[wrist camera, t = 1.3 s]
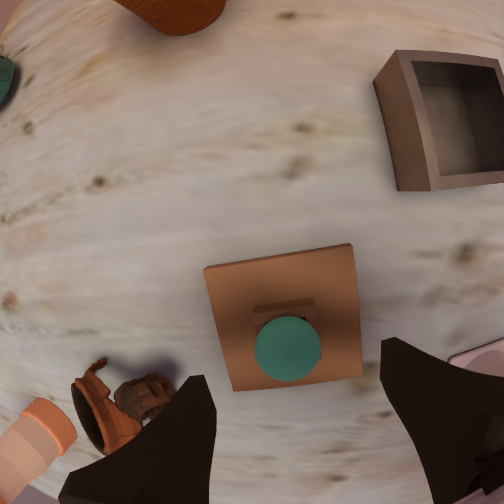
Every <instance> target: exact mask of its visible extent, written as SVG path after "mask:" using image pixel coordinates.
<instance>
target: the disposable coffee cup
mask: <svg viewBox="0 0 504 504" xmlns="http://www.w3.org/2000/svg"><path fill="white" fill-rule="evenodd" d="M114 1H115V0H114ZM116 2H117V3H119V4H121V5H122V6H124V7H126V8H127V9H128V10H131V12H133V13H135V14H136V15H137V16H139V17H140V18H142V19H144V20H145V21H146V22H148V23H149V24H151V25H152V26H153V27H155V28H156V29H158V30H159V31H160V32H162V33H165V34H167V35H186V34H190V33H193V32H196V31H199V30H201V29H203V28H205V27H206V26H208V25H209V24H211V23H212V22H213V21H214V20H216V19H217V18H218V17H219V15H220V14H221V13H222V11H223V9H224V7H225V4H226V0H116Z"/></svg>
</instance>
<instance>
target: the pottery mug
mask: <svg viewBox="0 0 504 504" xmlns="http://www.w3.org/2000/svg"><path fill="white" fill-rule="evenodd" d="M105 364H106V359H102V360H98V361H97V362H96V363H93V364H92V365H91V367H90V368H88V370H87V371H86V372H85V374H84V376H83V377H82V378H76V379H75V383H72V384H71V392H72V397H73V402H74V406H75V409H76V412H77V415H78V417H79V420H80V422H81V424H82V426H83V428H84V430H85V432H86V434H87V436H88V437H89V439H90V440H91V442H92V443H93V445H94V446H95V447H96V448H97V450H98V451H99V452H101V453H102V454H103V455H105V456H108V455H109V454H111V453H113V452H114V451H116V450H117V449H119V448H120V447H122V446H123V445H124V444H126V443H127V442H129V441H130V440H131V439H133V438H134V437H135V436H136V435H138V434H139V433H140V432H141V431H142V430H143V429H144V428H145V427H147V426H148V425H149V424H150V423H151V422H152V421H153V420H154V418H155V417H156V416H157V415H158V414H159V413H160V412H161V411H162V410H163V409H164V408H165V406H166V405H167V404H168V403H169V401H170V400H171V399H172V398H173V397H172V396H173V394H174V390H173V385H172V383H171V382H170V381H169V380H168V379H167V378H165V377H162V376H160V375H158V374H156V373H152V374H148V375H146V376H145V377H142V378H141V379H138V380H137V379H134V380H131V381H129V382H124V383H123V384H122V385H121V386H120V387H119V388H118V389H117V390H116V391H115V393H114V400H115V403H114V402H113V401H112V400H110V399H109V398H108V396H109V394H110V393H111V391H110V389H109V388H108V387H107V386H106V385H104V383H103V382H102V381H101V380H100V379H99V378H98V377H96V376H95V374H94V373H95V372H96V371H97V370H99V369H101V368H103V367H104V366H105ZM171 397H172V398H171ZM147 416H148V417H149V418H151V419H152V420H151V421H150V422H149V423H148V424H146V426H144V427H143V423H142V422H141V421H143V420H145V419H146V418H147Z"/></svg>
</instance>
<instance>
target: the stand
mask: <svg viewBox="0 0 504 504" xmlns="http://www.w3.org/2000/svg"><path fill="white" fill-rule="evenodd" d="M203 271H204V276H205V280H206V285H207V289H208V293H209V298H210V302H211V306H212V310H213V314H214V318H215V323H216V327H217V331H218V335H219V339H220V342H221V346H222V350H223V354H224V358H225V362H226V365H227V369H228V373H229V377H230V380H231V384H232V388H233V391H249V390H262V389H273V388H282V387H291V386H299V385H307V384H314V383H321V382H328V381H334V380H340V379H346V378H351V377H356V376H362V350H361V331H360V316H359V304H358V292H357V282H356V273H355V264H354V255H353V247H352V245H351V244H350V243H348V244H342V245H336V246H330V247H324V248H318V249H312V250H306V251H300V252H293V253H287V254H281V255H275V256H269V257H263V258H257V259H250V260H244V261H238V262H232V263H226V264H219V265H213V266H207V267H206V268H205V269H204V270H203ZM283 316H293V317H297V318H300V319H303V320H304V321H306V322H308V323H309V324H310V325H311V326H312V327H313V328H314V329H315V331H316V332H317V334H318V336H319V339H320V343H321V353H320V357H319V360H318V363H317V364H316V366H315V368H314V369H313V370H312V371H311V372H310V373H309V374H308V375H306V376H305V377H303V378H301V379H298V380H295V381H279V380H276V379H273V378H271V377H269V376H268V375H267V374H265V373H264V372H263V371H262V369H261V368H260V367H259V365H258V363H257V361H256V358H255V353H254V346H255V341H256V338H257V335H258V333H259V332H260V330H261V329H262V328H263V327H264V326H265V325H266V324H267V323H268V322H270V321H272V320H274V319H276V318H279V317H283Z"/></svg>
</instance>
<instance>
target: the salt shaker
mask: <svg viewBox="0 0 504 504" xmlns="http://www.w3.org/2000/svg"><path fill="white" fill-rule="evenodd" d="M75 439H76V431H75V429H74V427H73V425H72V423H71V422H70V420H69V419H68V418H67V417H66V415H65V414H64V413H63V412H62V411H61V410H60V409H59V408H58V407H57V406H55V405H54V404H52V403H51V402H50V401H47V400H45V399H42V398H38V399H36V400H35V401H34V402H33V403H32V404H30V405H29V406H28V407H27V408H26V409H25V410H24V411H22V412H21V416H20V418H19V419H18V420H17V421H16V422H14V423H13V424H12V425H11V426H10V427H8V428H7V429H6V430H5V432H4V433H3V435H2V436H1V437H0V504H10V503H11V502H12V501H13V500H14V499H15V498H16V497H17V496H18V494H19V493H20V492H21V491H22V490H23V489H24V488H25V487H26V485H28V484H29V483H30V482H32V481H33V480H34V479H36V478H37V477H38V476H39V475H41V474H42V473H43V472H45V471H46V470H47V469H48V467H49V466H50V465H51V464H52V462H53V461H54V460H55V458H56V457H57V456H62V455H63V454H64V453H65V452H66V450H67V449H68V448H69V447H70V446H71V444H72V443H73V442H74V441H75Z"/></svg>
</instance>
